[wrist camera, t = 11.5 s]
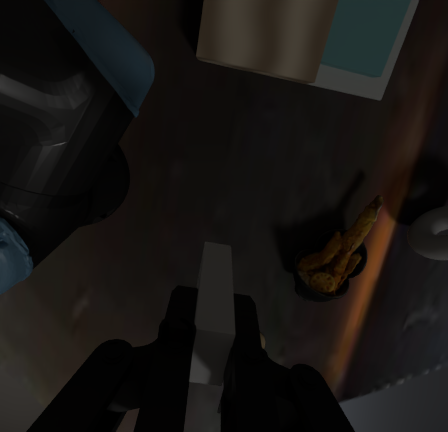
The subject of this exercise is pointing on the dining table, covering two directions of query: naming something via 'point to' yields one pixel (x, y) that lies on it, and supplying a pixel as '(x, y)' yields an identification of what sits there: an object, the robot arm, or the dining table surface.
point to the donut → (430, 234)
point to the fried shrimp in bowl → (334, 259)
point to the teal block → (363, 35)
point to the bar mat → (361, 83)
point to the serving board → (267, 36)
